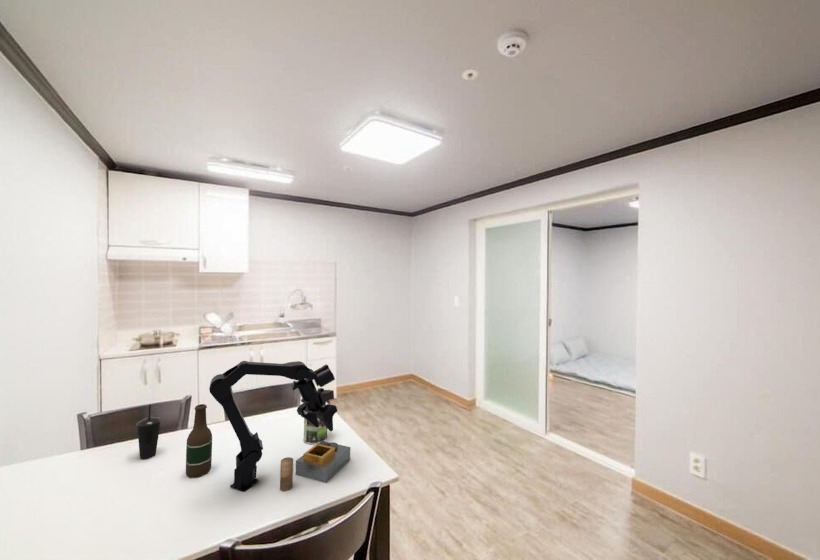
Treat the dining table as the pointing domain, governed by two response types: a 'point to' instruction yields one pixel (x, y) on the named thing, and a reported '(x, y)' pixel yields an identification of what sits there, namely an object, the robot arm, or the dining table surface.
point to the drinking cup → (148, 435)
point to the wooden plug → (286, 474)
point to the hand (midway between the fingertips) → (324, 428)
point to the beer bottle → (199, 445)
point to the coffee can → (314, 431)
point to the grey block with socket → (322, 461)
